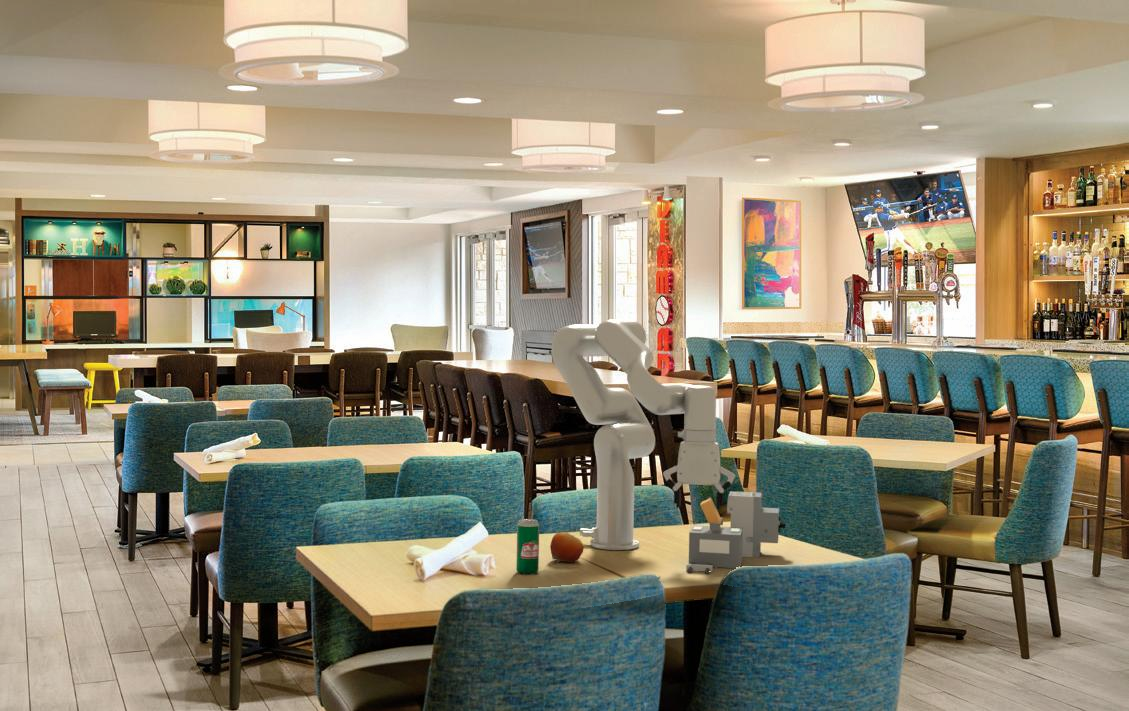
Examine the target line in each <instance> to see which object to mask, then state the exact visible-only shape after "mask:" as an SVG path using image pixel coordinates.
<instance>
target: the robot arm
mask: <svg viewBox="0 0 1129 711" xmlns="http://www.w3.org/2000/svg"><path fill="white" fill-rule="evenodd" d="M646 340H647V333H646V330H645V328H644V327H643V325H642V324H641V323H640V322H638V321H636V320H634V319H628V318H627V319H622V318H621V319H620V318H619V319H618V318H617V319H616V318H615V319H614V318H613V319H607V320H604V321H602V322H600V323H599V324H570V325H566V326H563V327H562V328H559V329H558V330H557V332H555V334H554V336H553V339H552V344H551V356H552V361H553V363H554V365H555V368H556V369H557V371H558V373H559V375H560V376H561V378H562V379H563V380H564V382H565V384H566V385H567V387H568V389H569V390H570V392H571V395H572V396H573V398H574V400H575V402H576V404H577V406H578V408H579V410H580V411H581V414H582V416H583V417H584V418H585V420H586V421H587V422H588V424H591V425H595V426H600V425H603V426H601V427H600V428H599V429H598V430H597V431H596V433H595V435H594V438H593V447H594V449H593V450H594V454H595V461H596V472H597V473H596V475H597V476H596V477H597V478H596V487H597V488H596V526H595V527H592V528H580V529H579V536H581V537H583V538H585V537H586V538H589V537H590V538H591V540H590V541H589V545H590V546H591V547H593V548H595V549H600V550H609V551H610V550H611V551H626V550H628V551H629V550H635V549H638V548H639V547H640V541H639V540H637V539H634V523H635V522H634V511H635V475H634V474H635V473H634V471H633V468H632V467H633V466H632V465H631V462H630V460H632V459H639V458H645V457H647V456H648V455H650V454H651V453H652V452H653V451H654V450H655V447H656V436H655V432H654V430H653V426H652V425H651V424H650V422H649V420H648V418H647V417H646V415H645V413H644V412H643V409H642V407H641V406H640V404H641V405H642V406H643V407H644V409H647V411H649V412H650V413H652V414H654V415H659V416H666V415H681V414H684V418H683V419H684V420H683V422H684V423H683V424H684V425H683V427H684V428H683V430H682V431H678V432H677V437H678V438H682V440H683V441H681V442H680V443H679V444H680V445H679V449H678V456H677V465H674V466H673V467H670V468H669V469H667V470H665V471H663V472H662V475H663V478H664V479H665V481H666V484H667V485H668V486H669V487H671V489H672V490H673V494H674V495H673V503H674V504H676V508H678V509H679V508H680V507H681V505H682V504H681V503H682V490H681V487H682V486H683V485H696V486H714V487H715V489H716V490H717V492H716V509H717V511H718V510H720V509H721V508H722V507H721V506H724V492H725V491H726V490H727V489H728V488H730V486H731V485H732V483H733V481H734V480H735V478H736V474H735V473H733V472H731V471H730V470H728V469H726V468H724V467H723V466H721V455H720V447H719V443H718V442H716V429H717V428H716V422H717V421H716V420H717V419H716V418H717V416H716V415H717V392H716V389H715V387H713V386H712V385H711V386H710V385H693V384H690V383H685V382H684V383H681V382H679V383H676V382H675V383H660V381H658V380H657V379H656V378H655V377H654V376H653V375H652V374H651V373H650V372H649V371H648V370H649V368H651V365H652V363H653V361H654V354H653V351H652V350H651V349H650V348H649V347H647V346H646ZM607 356H608V357H609V358H610V359H611V360H612V361H613V362H615V364H616V365H617V366H618V367H619V368H620V369H621V370H622V371H623V372H624V373H625V374H626V381H627V384H628V388H629V390H630V391H629V390H628V389H625V388H622V387H608V386H606V385H605V383H604V382H603V381H602V379H601V377H600V375H599V373H598V371H597V370H596V368H594V366H593V365H592V364H590V363H589V362H588V361H587V360H586V359H585V358H584V357H588V358H589V357H607ZM639 403H640V404H639ZM674 473H676V477H677V479H676V480H677V482H675V481H674V479H672V477H671V475H672V474H674ZM721 475H724V476H726V477H727V481H726V482H724V484H723V483H721Z"/></svg>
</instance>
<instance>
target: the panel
mask: <svg viewBox="0 0 1129 711" xmlns="http://www.w3.org/2000/svg"><path fill="white" fill-rule="evenodd" d="M721 519H722V521H721V523H710V524H709V525H697V524H696V525H695V524H693V526H692V527H691V528H690V530H689V533H688V564H691V563H692V562H693V563H695V564H699V565H708V564H709V563H710V564H711V565H713V567H712V568H715V567H728V568H727V569H732V568H736V567H739V566H740V567H741V566H742V561H743V556H742V542H743V528H735V527H731V526H729V527H728V526H723V524H724V518H723V517H721Z"/></svg>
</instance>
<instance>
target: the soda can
mask: <svg viewBox="0 0 1129 711" xmlns="http://www.w3.org/2000/svg"><path fill="white" fill-rule="evenodd" d="M539 548H540V523H539V520H537V519H534V518H533V519H532V518H524V519H523V518H522V519H519V520H518V523H517V524H516V567H515V568H516V572H517V573H518V574H519V575H527V576H528V575H535V574H537V573H538V571H539V567H540V566H539V563H540V562H539V559H540V558H539V557H540V556H539V555H540V554H539V553H540V549H539Z"/></svg>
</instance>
